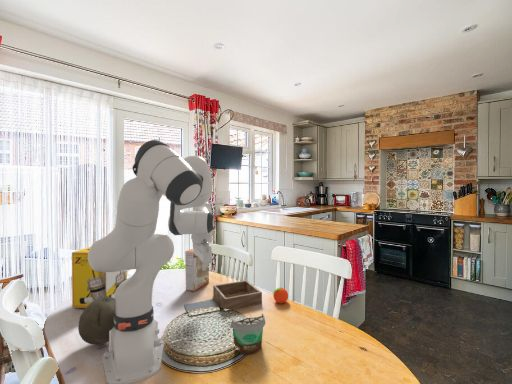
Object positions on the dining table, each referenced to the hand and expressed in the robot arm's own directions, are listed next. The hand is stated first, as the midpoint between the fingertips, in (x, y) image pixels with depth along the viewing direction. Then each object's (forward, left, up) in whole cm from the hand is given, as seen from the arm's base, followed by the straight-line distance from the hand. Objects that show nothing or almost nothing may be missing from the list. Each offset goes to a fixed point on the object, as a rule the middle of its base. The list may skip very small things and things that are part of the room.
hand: (202, 268), depth 119 cm
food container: (-38, -7, -18) cm, 43 cm away
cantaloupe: (-10, +35, -3) cm, 36 cm away
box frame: (+1, -17, -18) cm, 25 cm away
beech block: (0, 0, -4) cm, 4 cm away
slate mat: (0, 0, -18) cm, 18 cm away
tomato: (-11, -34, -18) cm, 40 cm away
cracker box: (+27, -4, -18) cm, 33 cm away
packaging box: (+28, +42, -18) cm, 54 cm away
